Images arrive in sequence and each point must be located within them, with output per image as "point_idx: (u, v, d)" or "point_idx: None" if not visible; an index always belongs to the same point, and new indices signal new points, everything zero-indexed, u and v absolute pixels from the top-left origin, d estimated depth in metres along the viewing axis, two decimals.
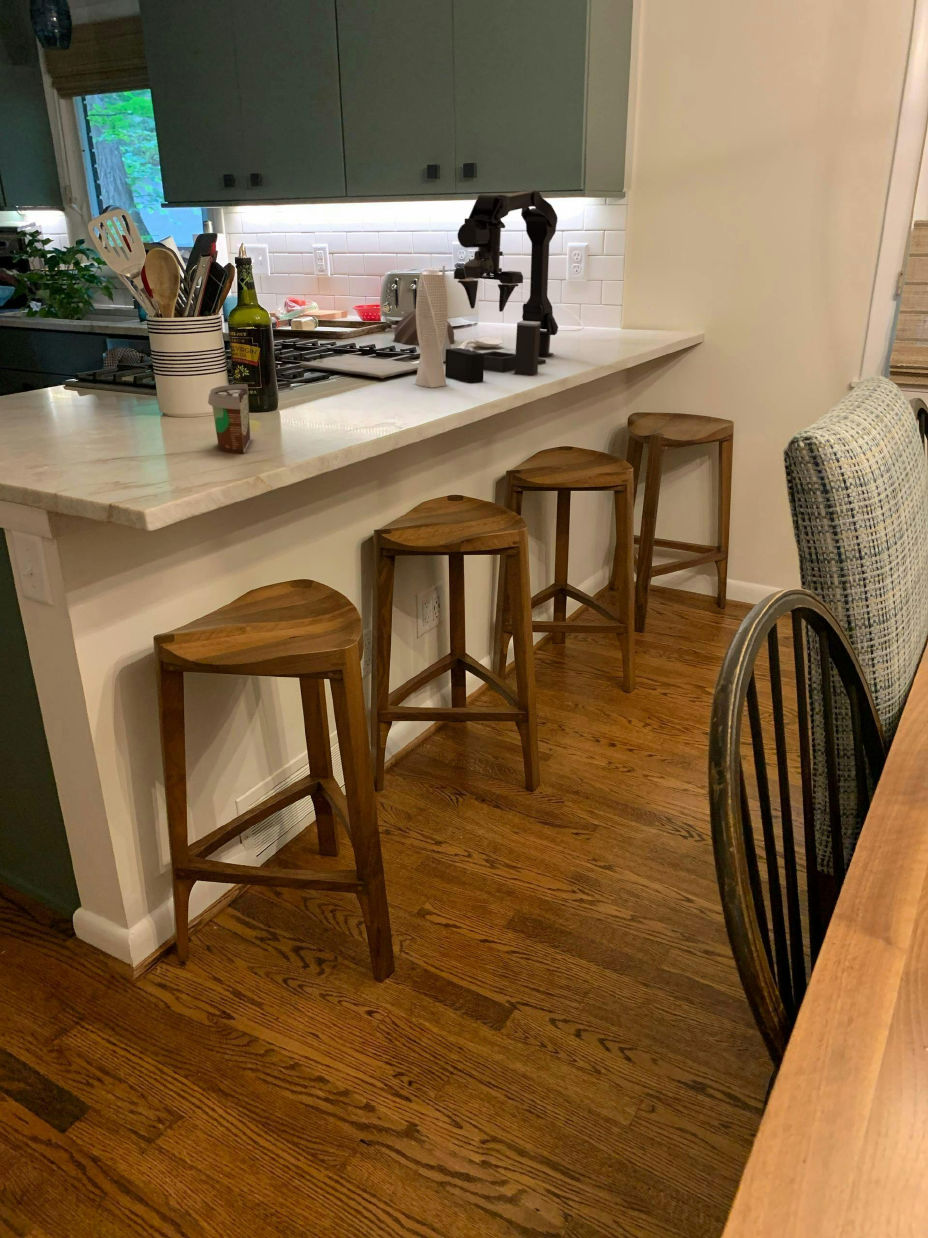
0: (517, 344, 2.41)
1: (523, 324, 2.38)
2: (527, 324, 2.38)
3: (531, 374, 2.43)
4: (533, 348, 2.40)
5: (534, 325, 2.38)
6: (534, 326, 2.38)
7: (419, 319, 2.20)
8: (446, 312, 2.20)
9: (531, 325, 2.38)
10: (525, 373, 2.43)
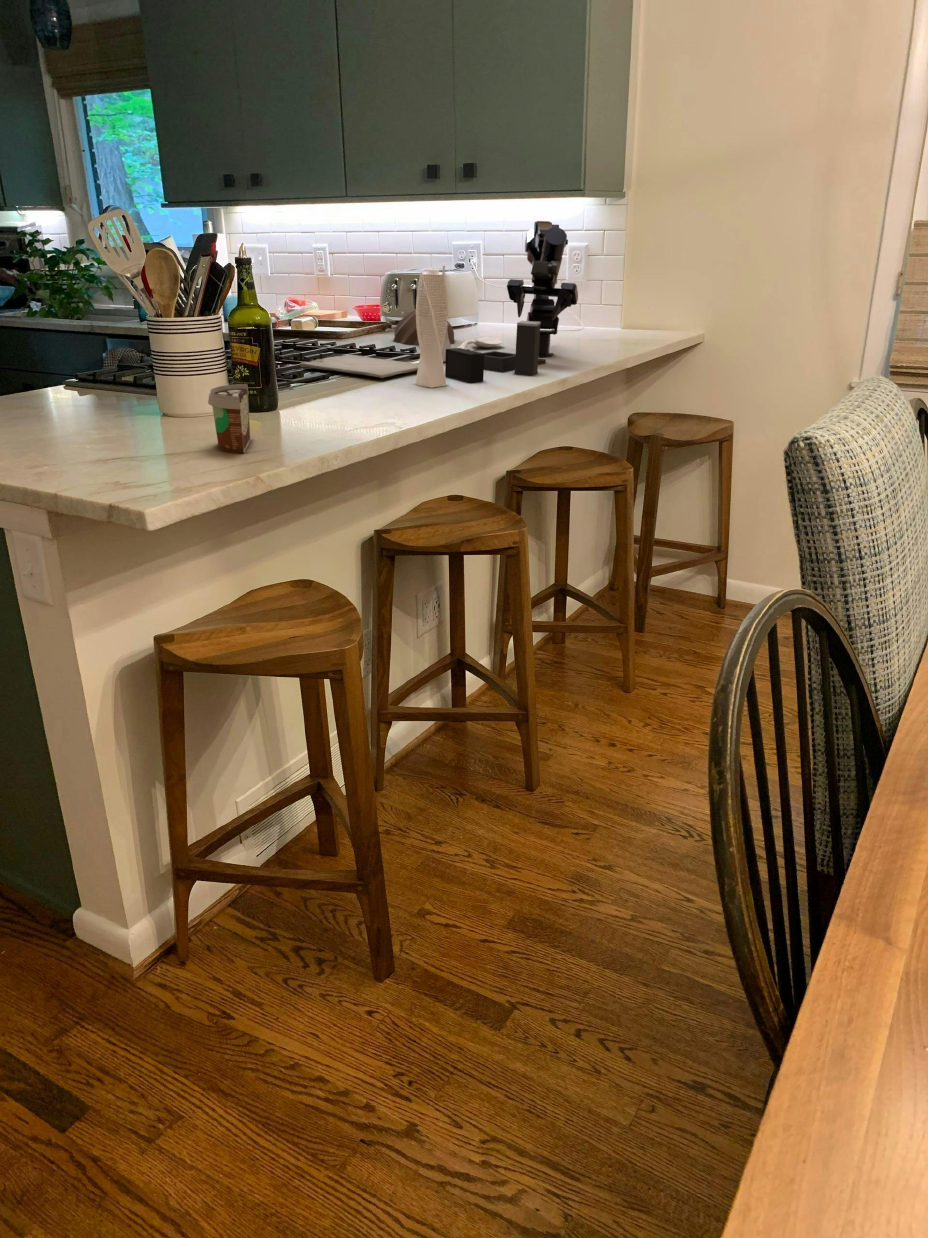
0: (517, 344, 2.41)
1: (523, 324, 2.38)
2: (527, 324, 2.38)
3: (531, 374, 2.43)
4: (533, 348, 2.40)
5: (534, 325, 2.38)
6: (534, 326, 2.38)
7: (419, 319, 2.20)
8: (446, 312, 2.20)
9: (531, 325, 2.38)
10: (525, 373, 2.43)
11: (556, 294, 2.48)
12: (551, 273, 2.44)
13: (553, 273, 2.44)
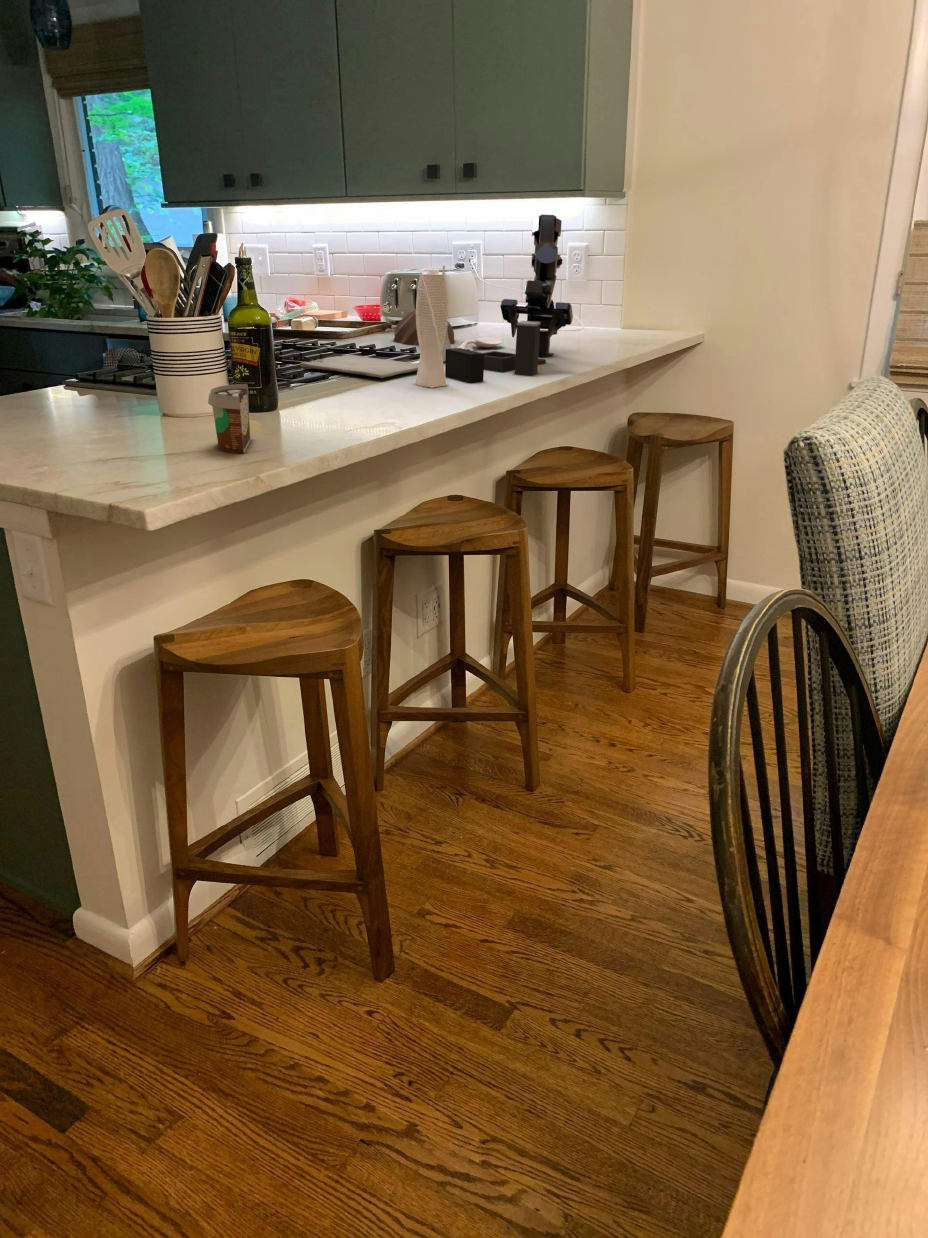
0: (517, 344, 2.41)
1: (523, 324, 2.38)
2: (527, 324, 2.38)
3: (531, 374, 2.43)
4: (533, 348, 2.40)
5: (534, 325, 2.38)
6: (534, 326, 2.38)
7: (419, 319, 2.20)
8: (446, 312, 2.20)
9: (531, 325, 2.38)
10: (525, 373, 2.43)
11: (550, 314, 2.45)
12: (545, 293, 2.41)
13: (547, 293, 2.41)
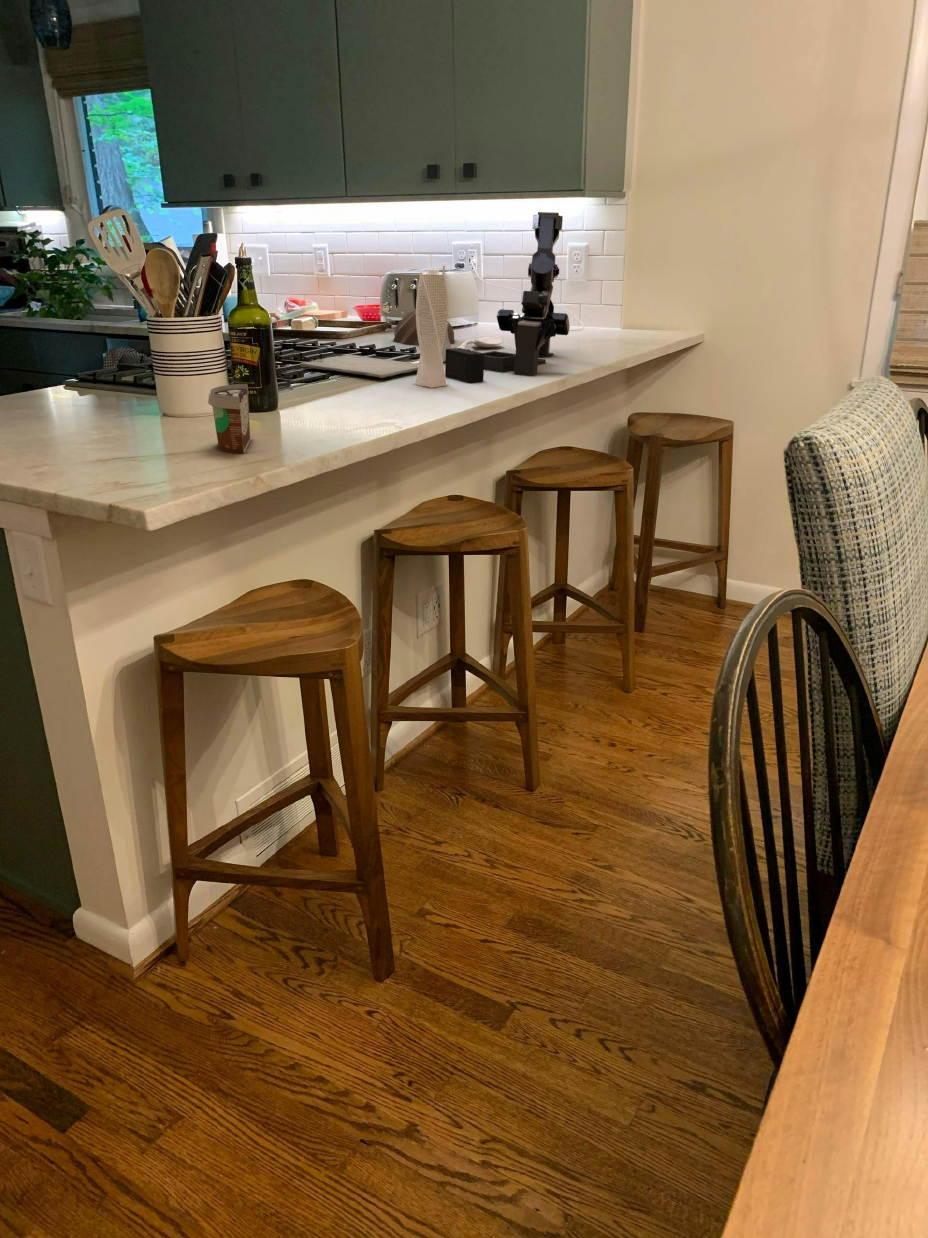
0: (517, 344, 2.41)
1: (524, 324, 2.38)
2: (528, 324, 2.38)
3: (530, 374, 2.43)
4: (533, 348, 2.40)
5: (535, 325, 2.38)
6: (535, 326, 2.38)
7: (419, 319, 2.20)
8: (446, 312, 2.20)
9: (532, 325, 2.38)
10: (525, 373, 2.43)
11: None
12: (542, 303, 2.39)
13: (544, 303, 2.39)
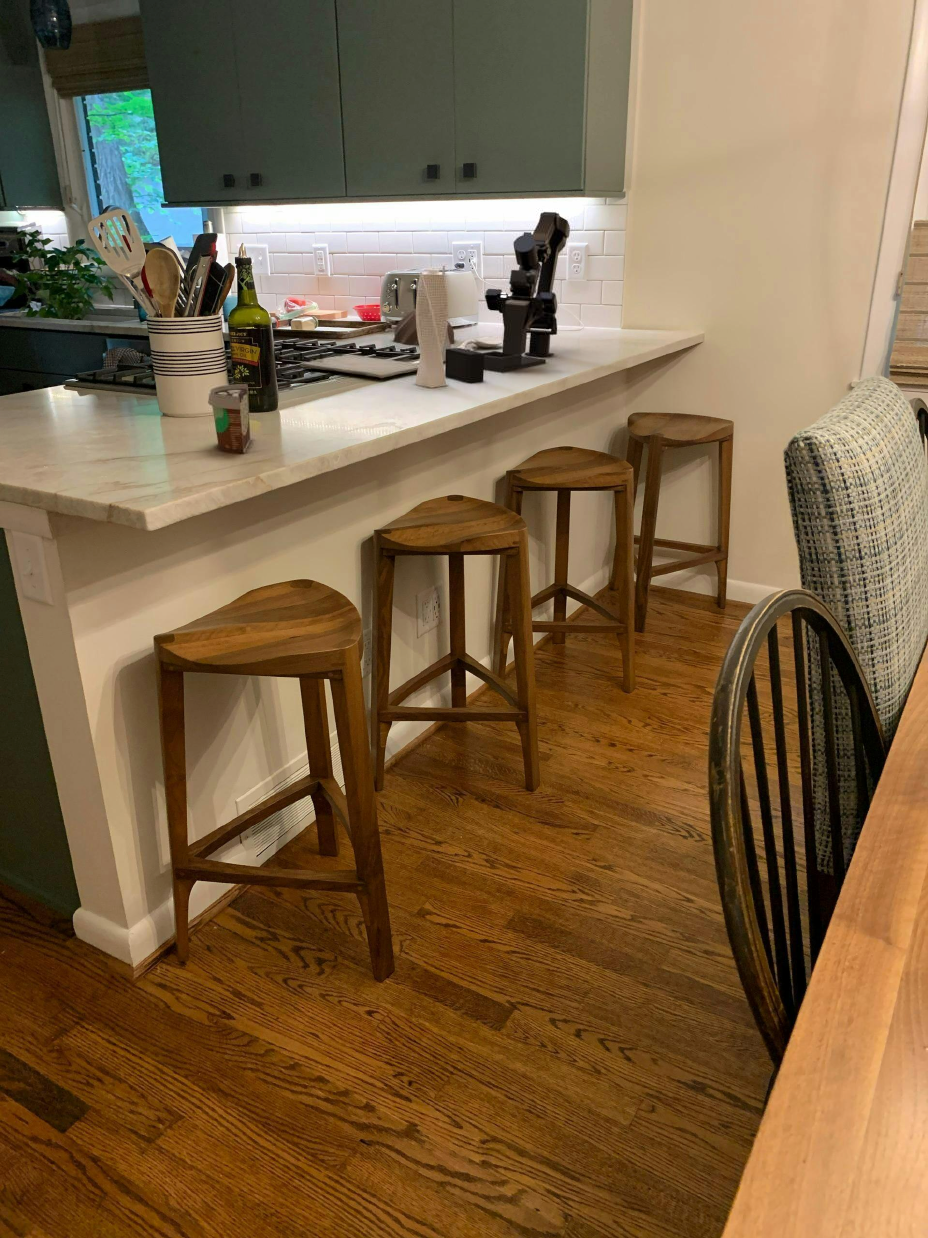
0: (506, 323, 2.42)
1: (512, 303, 2.40)
2: (516, 303, 2.39)
3: (519, 353, 2.44)
4: (521, 327, 2.41)
5: (523, 304, 2.39)
6: (523, 305, 2.39)
7: (419, 319, 2.20)
8: (446, 312, 2.20)
9: (520, 304, 2.39)
10: (513, 352, 2.45)
11: None
12: (530, 282, 2.40)
13: (532, 282, 2.40)
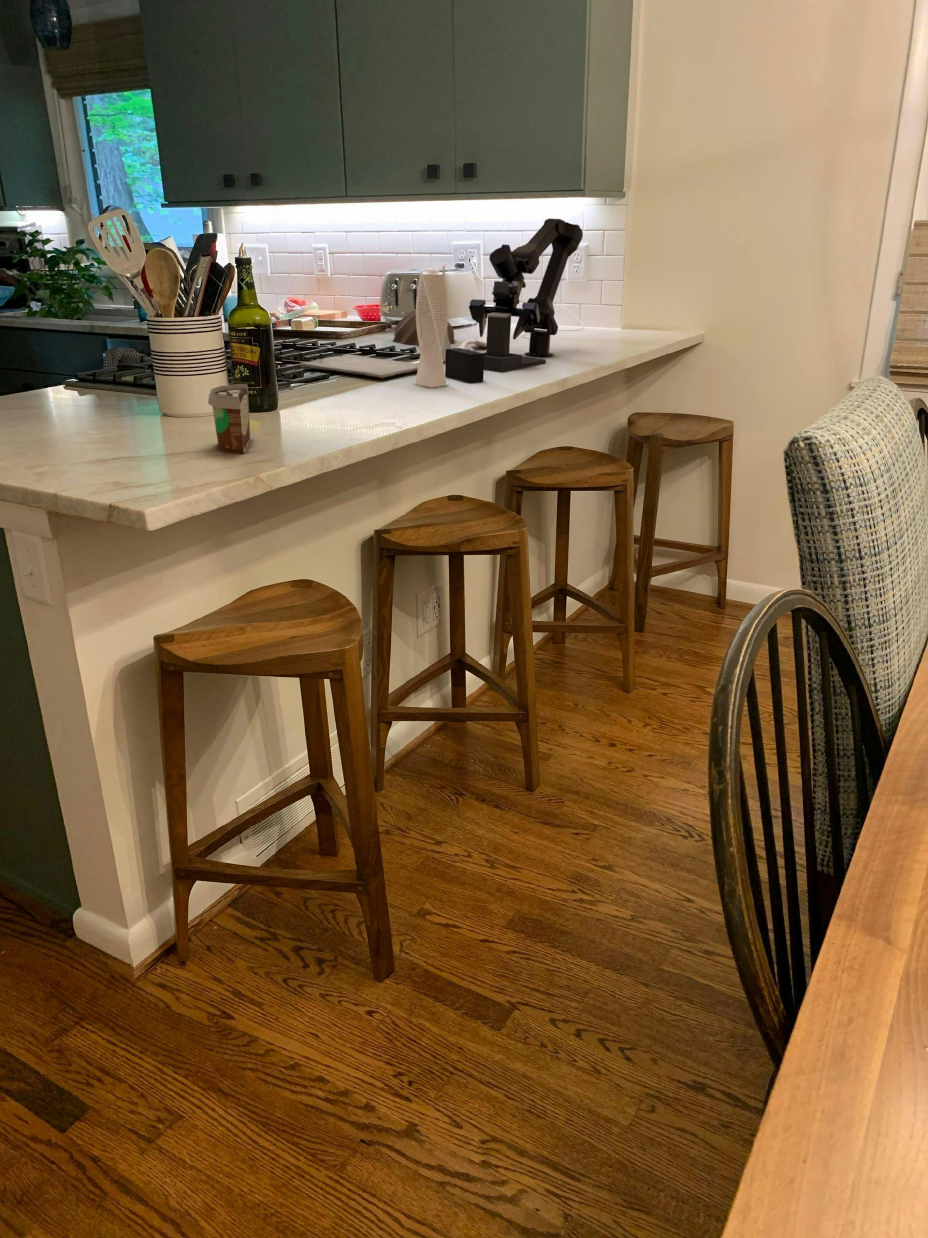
0: (488, 335, 2.48)
1: (493, 315, 2.45)
2: (497, 315, 2.45)
3: None
4: (503, 339, 2.47)
5: (504, 316, 2.44)
6: (504, 317, 2.44)
7: (419, 319, 2.20)
8: (446, 312, 2.20)
9: (501, 316, 2.45)
10: None
11: (518, 314, 2.49)
12: (512, 293, 2.45)
13: (514, 293, 2.45)
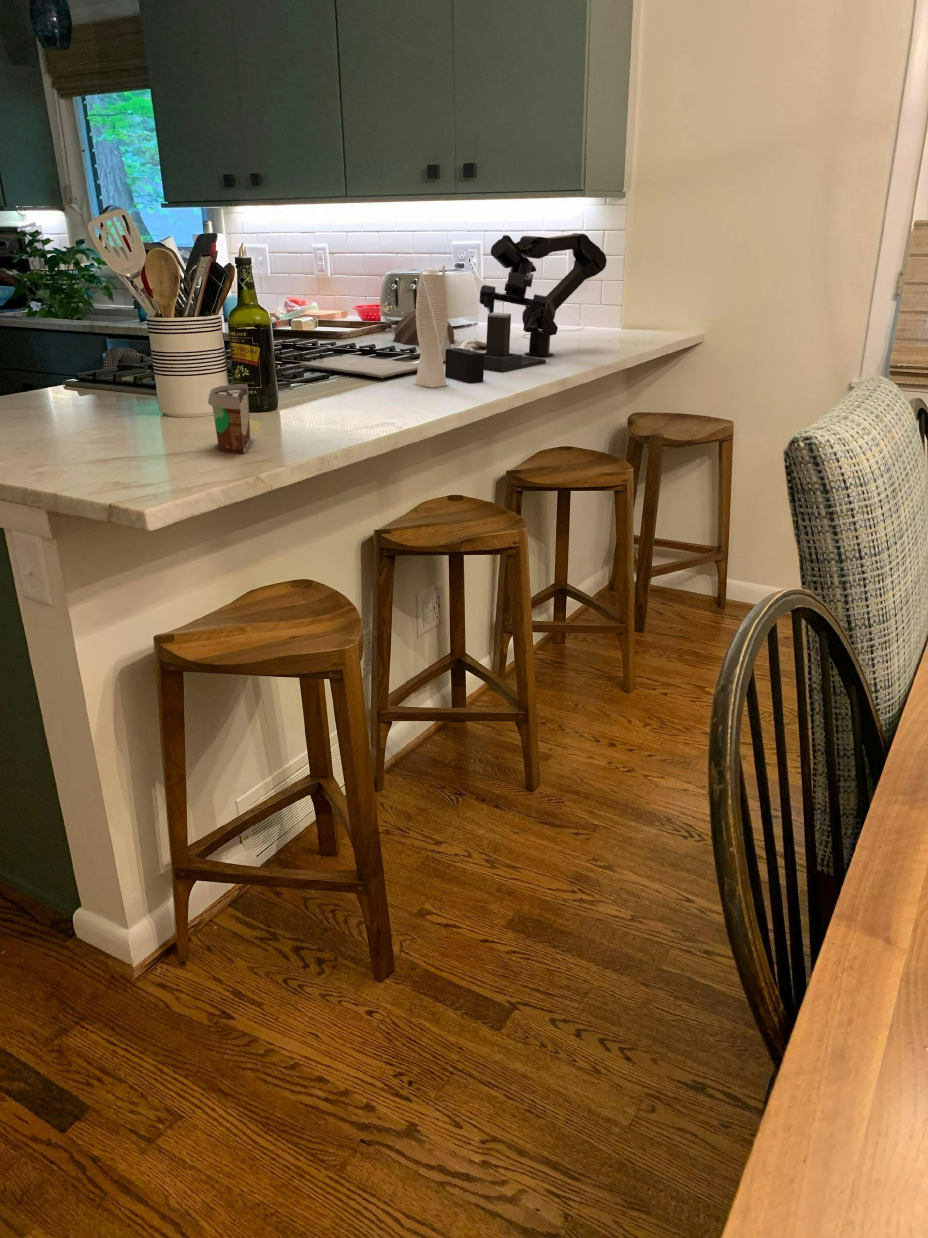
0: (488, 335, 2.48)
1: (493, 315, 2.45)
2: (497, 315, 2.45)
3: None
4: (503, 339, 2.47)
5: (504, 316, 2.44)
6: (504, 317, 2.44)
7: (419, 319, 2.20)
8: (446, 312, 2.20)
9: (501, 316, 2.45)
10: None
11: (527, 304, 2.57)
12: (525, 285, 2.53)
13: (527, 285, 2.53)
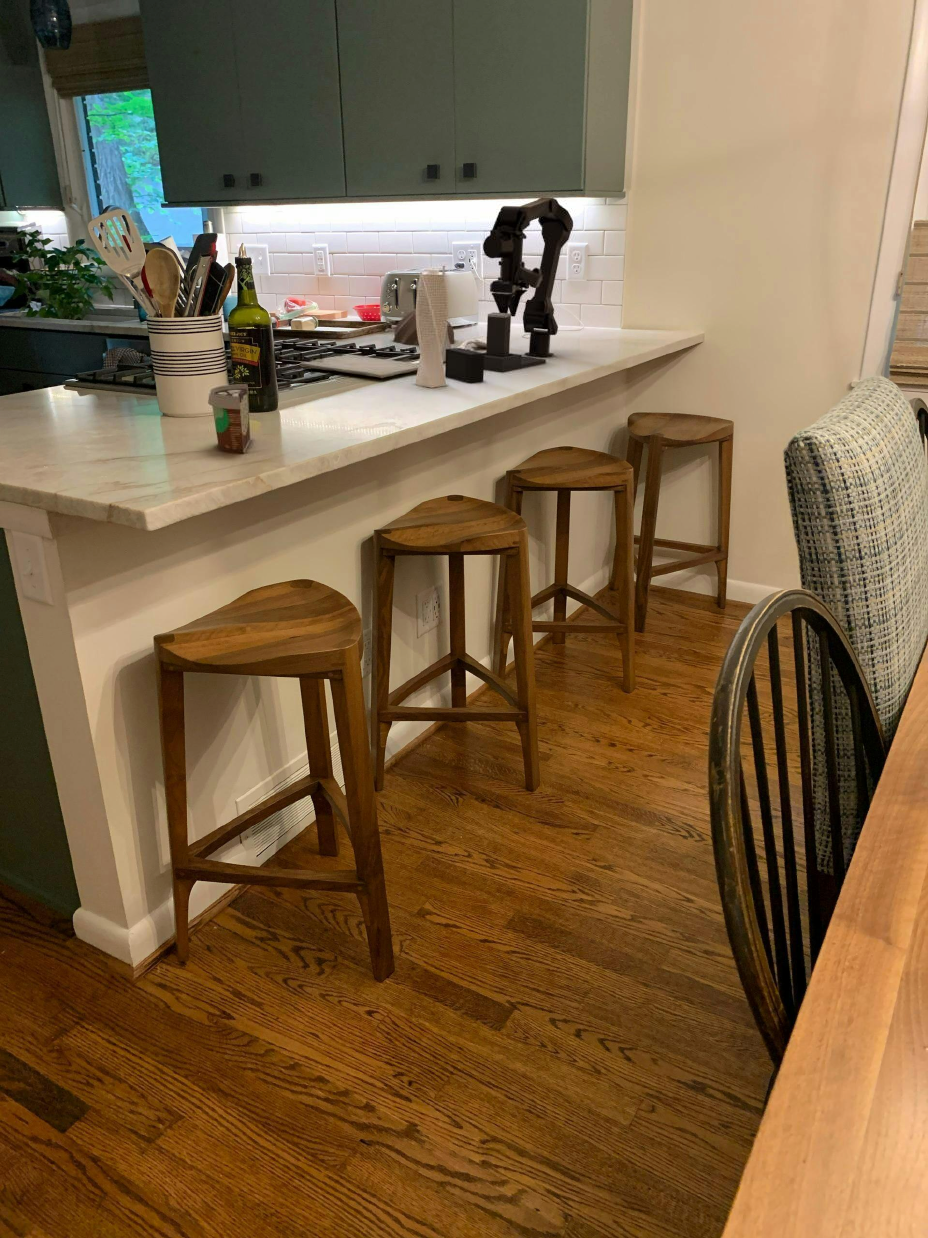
0: (488, 335, 2.48)
1: (493, 315, 2.45)
2: (497, 315, 2.45)
3: None
4: (503, 339, 2.47)
5: (504, 316, 2.44)
6: (504, 317, 2.44)
7: (419, 319, 2.20)
8: (446, 312, 2.20)
9: (501, 316, 2.45)
10: None
11: None
12: None
13: None
